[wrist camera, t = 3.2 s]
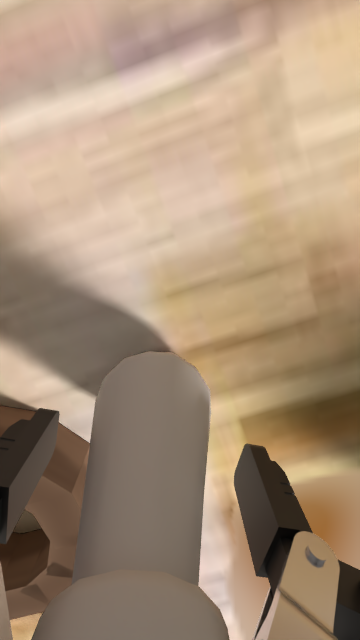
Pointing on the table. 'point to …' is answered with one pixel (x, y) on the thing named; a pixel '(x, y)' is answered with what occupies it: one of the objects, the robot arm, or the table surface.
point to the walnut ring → (46, 525)
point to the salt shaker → (141, 512)
